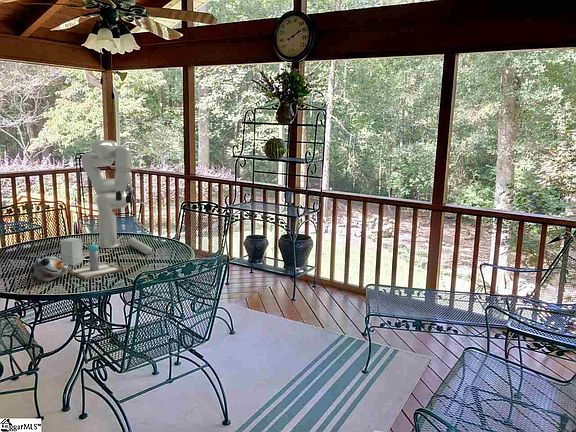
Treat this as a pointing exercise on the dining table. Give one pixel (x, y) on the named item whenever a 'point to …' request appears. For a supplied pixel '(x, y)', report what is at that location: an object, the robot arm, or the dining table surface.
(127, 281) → the dining table surface
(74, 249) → the supplement box
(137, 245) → the tube
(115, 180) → the robot arm
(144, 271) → the dining table surface
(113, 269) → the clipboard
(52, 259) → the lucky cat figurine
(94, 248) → the marker
